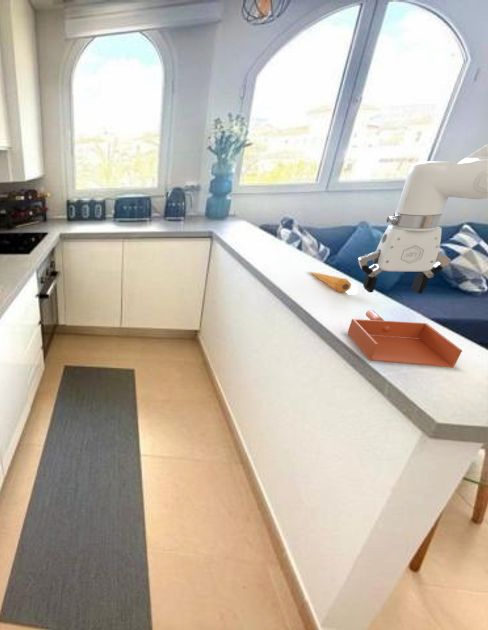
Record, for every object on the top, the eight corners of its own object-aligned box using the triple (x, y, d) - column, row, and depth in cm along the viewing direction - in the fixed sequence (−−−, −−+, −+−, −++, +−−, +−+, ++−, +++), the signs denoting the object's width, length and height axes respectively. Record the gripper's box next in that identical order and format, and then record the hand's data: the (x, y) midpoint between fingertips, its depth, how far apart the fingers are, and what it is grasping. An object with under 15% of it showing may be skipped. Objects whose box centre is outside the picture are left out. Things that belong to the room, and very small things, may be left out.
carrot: (347, 295, 110) (356, 282, 108) (335, 290, 110) (343, 278, 108) (312, 279, 129) (319, 268, 127) (301, 275, 128) (308, 264, 127)
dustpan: (453, 367, 74) (462, 350, 72) (369, 360, 78) (375, 343, 76) (399, 322, 92) (405, 307, 90) (334, 318, 96) (338, 304, 94)
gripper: (376, 225, 77) (356, 295, 84) (477, 223, 72) (446, 298, 79) (362, 219, 84) (344, 284, 91) (453, 216, 78) (426, 286, 86)
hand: (391, 290), depth 85 cm, fingers open, 9 cm apart
